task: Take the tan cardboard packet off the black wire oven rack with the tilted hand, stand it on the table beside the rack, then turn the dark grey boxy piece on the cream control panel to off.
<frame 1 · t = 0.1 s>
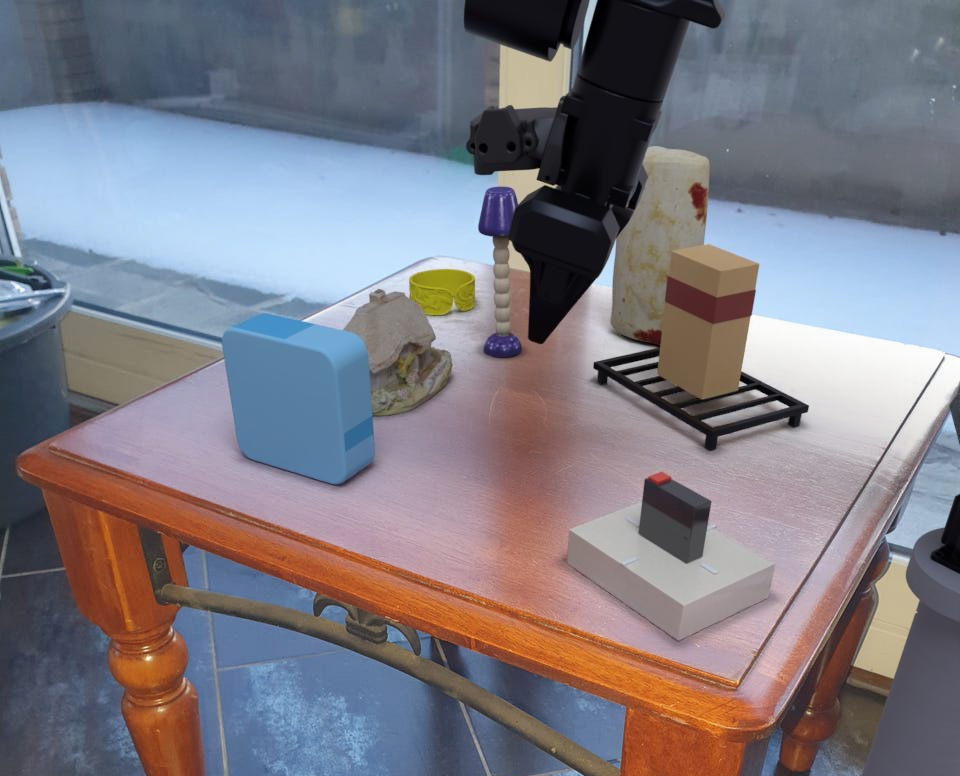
hand: (548, 319, 72), 16 cm above the table, tool pointing down, fingers open, 9 cm apart
dark grey boxy piece: (673, 516, 70), point 5 cm above the table, hinge at 0.0°
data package: (307, 464, 88), on the table
ceramic model: (384, 391, 101), on the table
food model: (649, 340, 113), on the table
oven panel: (664, 580, 73), on the table
packet: (696, 382, 97), point 2 cm above the table, touching oven rack
toy lamp: (499, 351, 110), on the table
oven rack: (693, 403, 99), on the table
bracelet: (442, 306, 122), on the table
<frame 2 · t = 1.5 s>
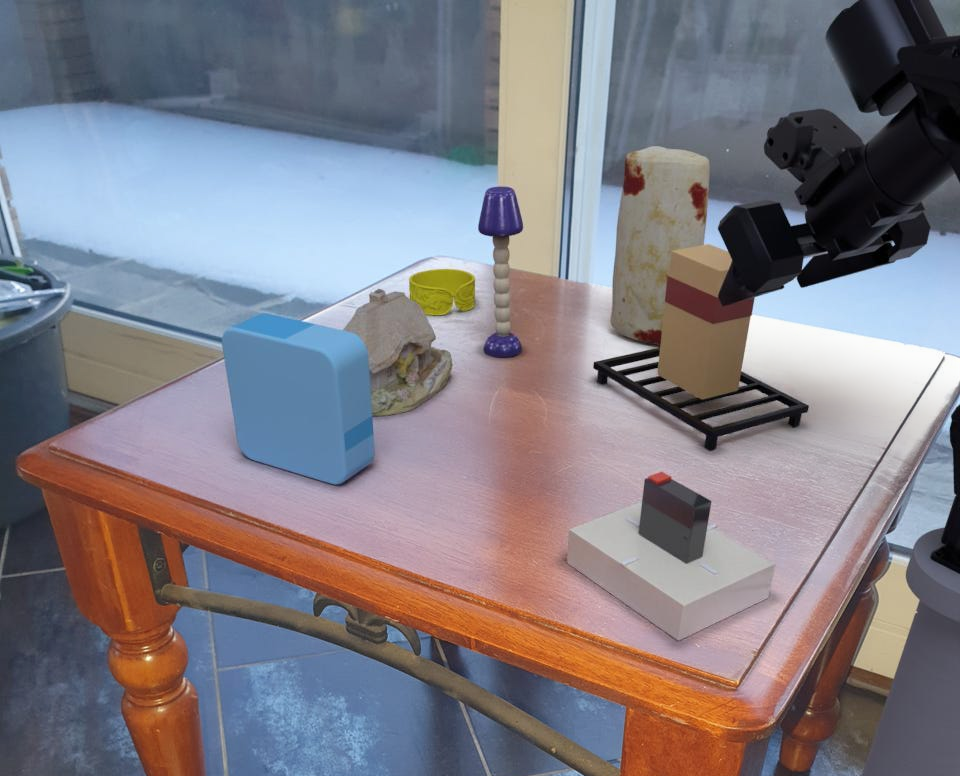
hand: (761, 291, 85), 13 cm above the table, tool tilted 45°, fingers open, 9 cm apart
nothing on the table moved.
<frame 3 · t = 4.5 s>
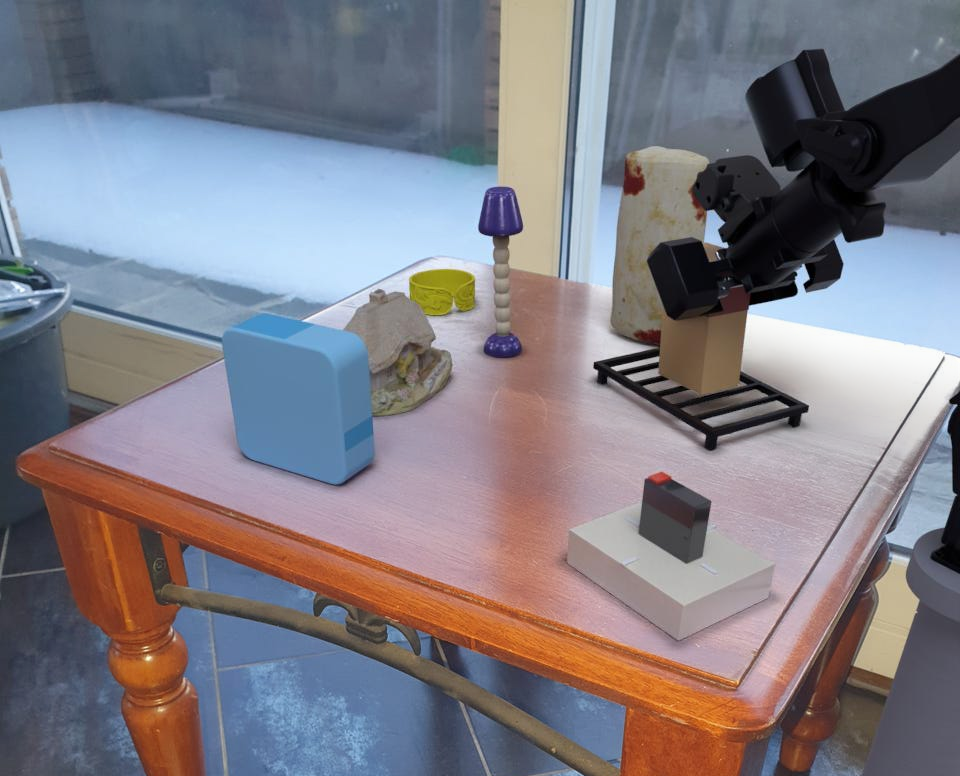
hand: (695, 311, 95), 9 cm above the table, tool tilted 45°, fingers closed on packet, 4 cm apart
packet: (697, 380, 97), point 2 cm above the table, touching gripper, oven rack
everything else where it was.
when the fingers open (7 cm above the table, at t = 11.6 s): packet stays where it is, on the table.
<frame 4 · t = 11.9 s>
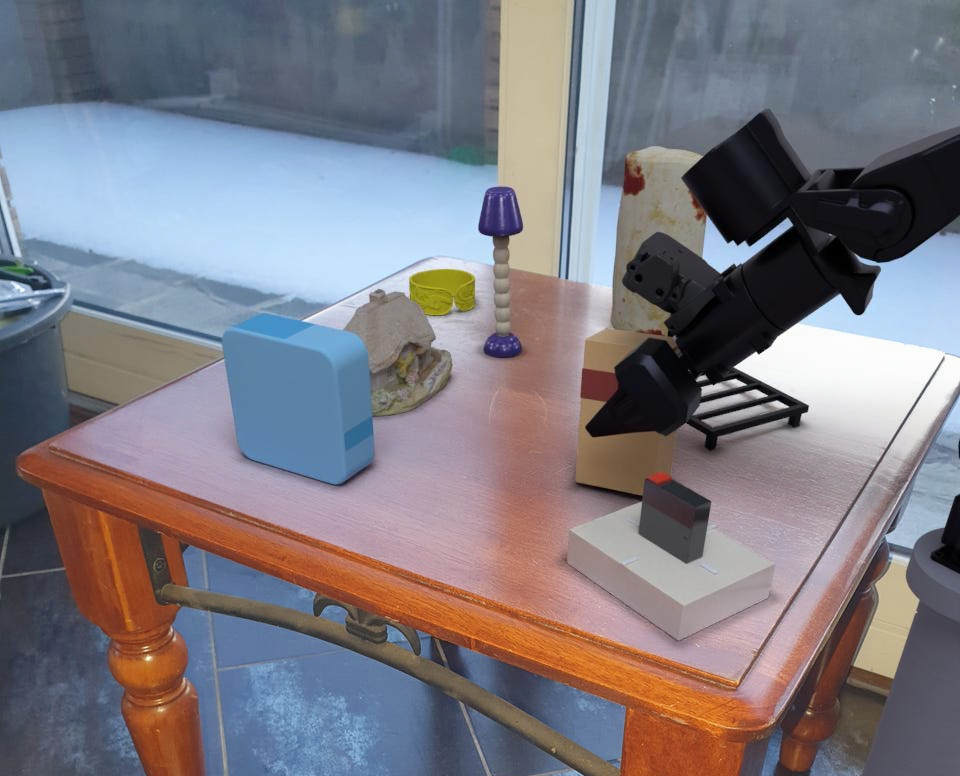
hand: (609, 410, 82), 7 cm above the table, tool tilted 45°, fingers open, 9 cm apart
packet: (622, 481, 85), on the table, tilted 7°
everything else where it was.
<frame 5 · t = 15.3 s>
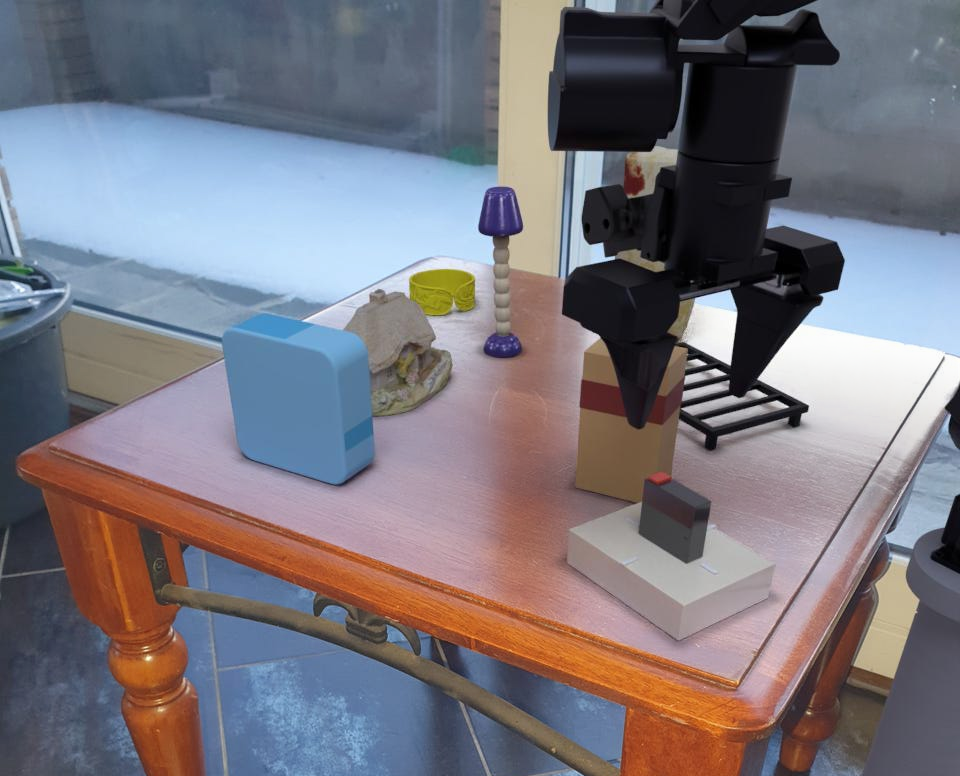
hand: (687, 410, 66), 13 cm above the table, tool pointing down, fingers open, 9 cm apart
packet: (622, 485, 85), on the table
everything else where it was.
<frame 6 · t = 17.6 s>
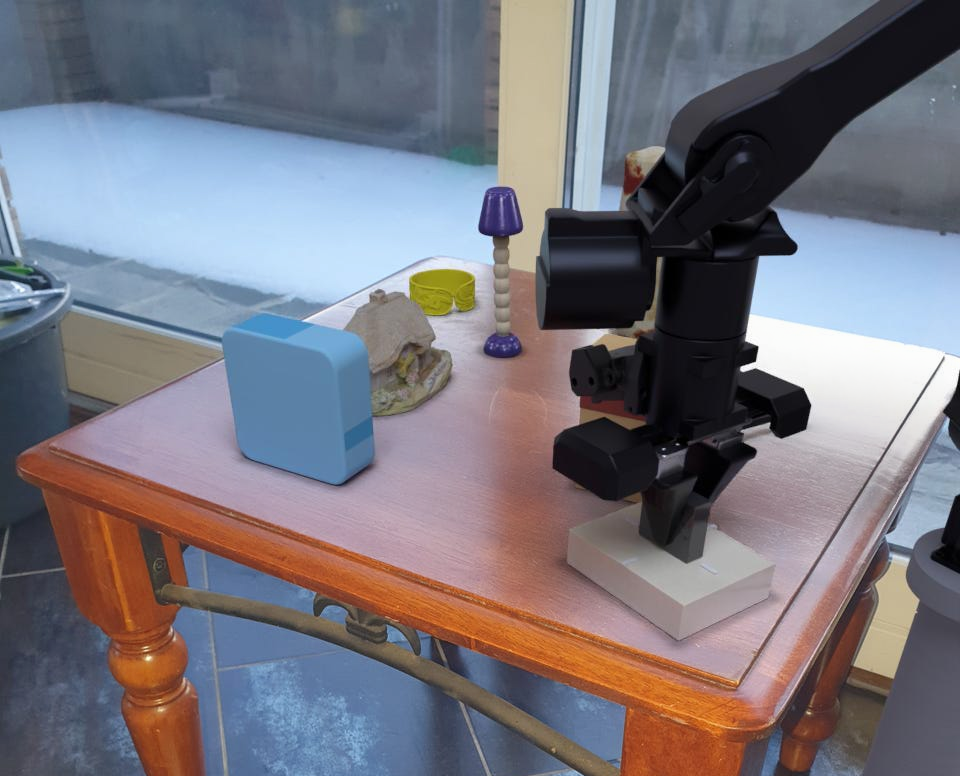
hand: (670, 539, 71), 4 cm above the table, tool pointing down, fingers closed on dark grey boxy piece, 2 cm apart
dark grey boxy piece: (673, 516, 70), point 5 cm above the table, hinge at 0.0°, touching gripper
everything else where it was.
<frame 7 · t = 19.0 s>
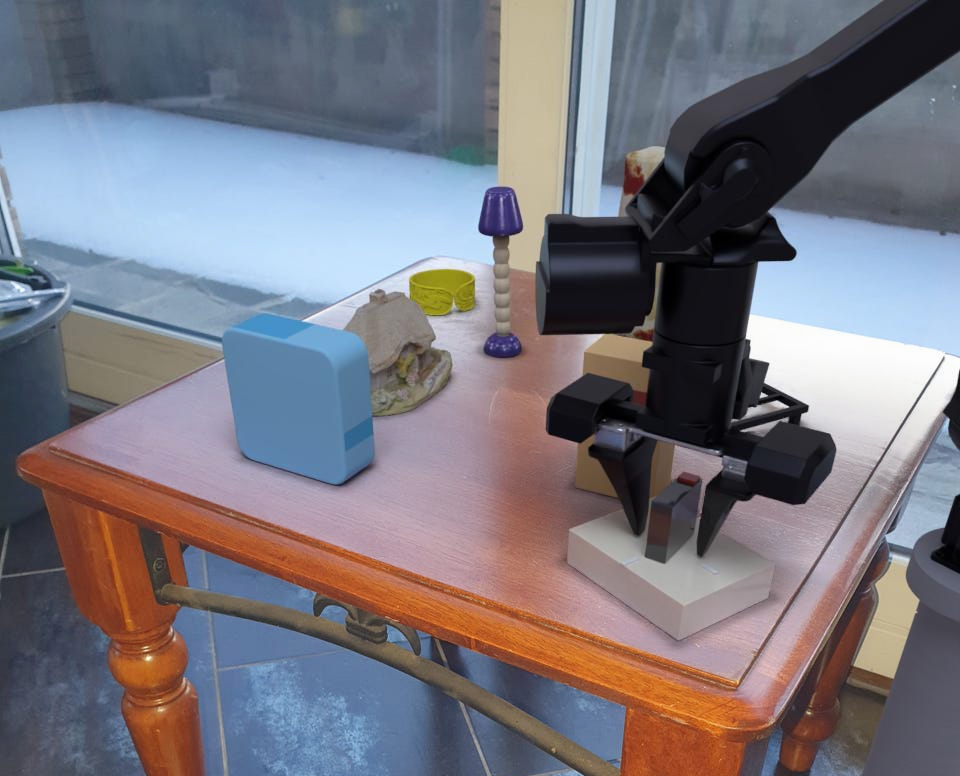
hand: (670, 543, 72), 3 cm above the table, tool pointing down, fingers open, 5 cm apart
dark grey boxy piece: (673, 516, 70), point 5 cm above the table, hinge at -69.1°
everything else where it was.
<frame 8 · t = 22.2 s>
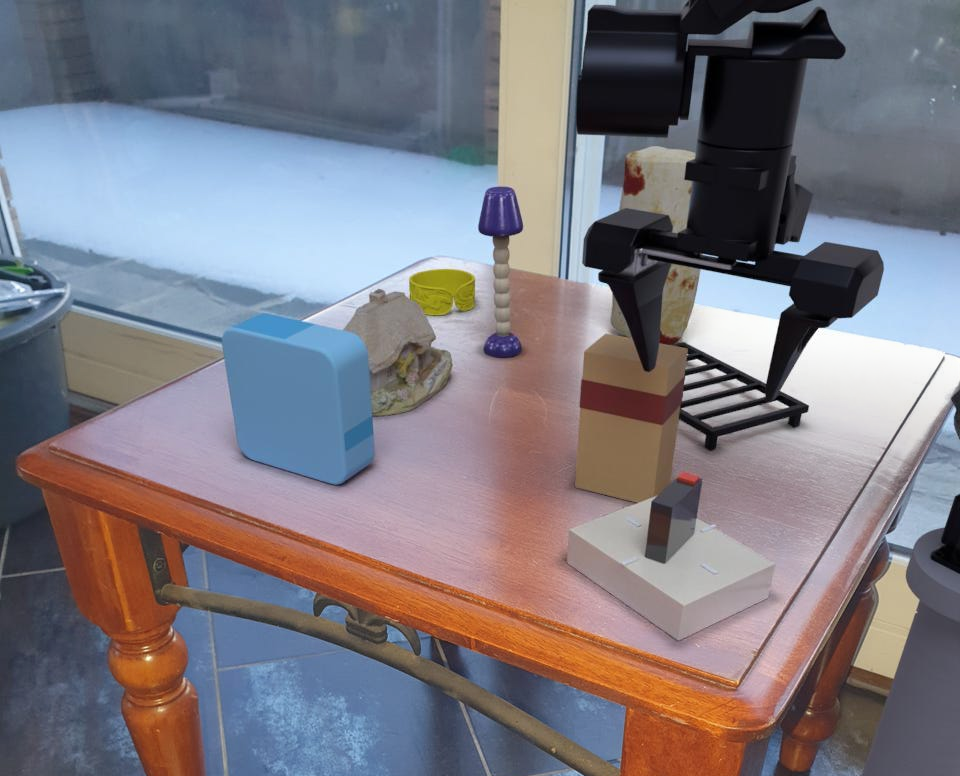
hand: (708, 384, 70), 13 cm above the table, tool pointing down, fingers open, 9 cm apart
nothing on the table moved.
at the end: packet inside the target area (0.4 cm from its centre), on the table; packet tilted 0°; dark grey boxy piece at -69° (first picture: +0°) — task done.
